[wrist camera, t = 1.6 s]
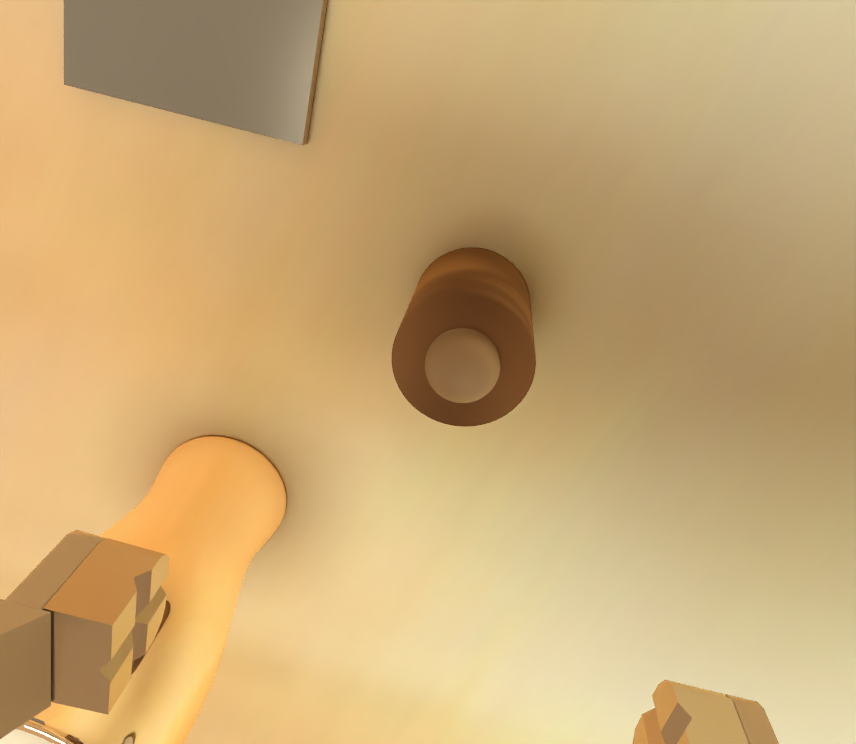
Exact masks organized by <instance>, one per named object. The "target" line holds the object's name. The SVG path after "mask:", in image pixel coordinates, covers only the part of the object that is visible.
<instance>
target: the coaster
mask: <svg viewBox="0 0 856 744" xmlns="http://www.w3.org/2000/svg"><path fill="white" fill-rule="evenodd" d="M327 2H328V0H64V85H68V86H72V87H76V88H80V89H84V90H88V91H92V92H96V93H100V94H103V95H107V96H111V97H115V98H119V99H123V100H127V101H131V102H135V103H139V104H143V105H147V106H151V107H155V108H159V109H163V110H166V111H170V112H174V113H178V114H182V115H186V116H190V117H194V118H198V119H202V120H206V121H210V122H214V123H218V124H222V125H225V126H229V127H233V128H237V129H241V130H245V131H249V132H253V133H257V134H261V135H265V136H269V137H273V138H277V139H281V140H284V141H288V142H292V143H296V144H300V145H304V144H307V140H308V133H309V126H310V119H311V112H312V105H313V98H314V92H315V85H316V78H317V71H318V64H319V57H320V50H321V43H322V36H323V29H324V22H325V16H326V9H327Z"/></svg>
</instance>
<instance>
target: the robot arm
mask: <svg viewBox="0 0 856 744" xmlns="http://www.w3.org/2000/svg"><path fill="white" fill-rule="evenodd" d="M168 574H169V557H168V556H167V555H166V554H163V553H160V552H156V551H153V550H149V549H146V548H142V547H138V546H135V545H131V544H128V543H124V542H120V541H117V540H113V539H110V538H103V537H100V536H96V535H93V534H89V533H86V532H82V531H79V530H76V531H73V532H71V533H69V534H68V535H66V536H65V537H64V538H63V539H62V540H61V541H60V543H59V544H58V545H57V546H56V547H55V548H54V549H53V550H52V551H51V552H50V553H49V554H48V555H47V556H46V557H45V558H44V559H43V560H42V562H41V563H40V564H39V565H38V566H37V567H36V568H35V569H34V570H33V571H32V572H31V573H30V574H29V575H28V576H27V577H26V578H25V580H24V581H23V582H22V583H21V584H20V585H19V586H18V587H17V588H16V589H15V590H14V591H13V592H12V593H11V594H10V595H9V596H8V597H7V599H6V600H1V599H0V739H1V738H3V737H4V736H6V735H7V734H9V733H10V732H12V731H13V730H15V729H16V728H18V727H20V726H21V725H23V724H24V723H26V722H27V721H29V720H30V719H32V718H33V717H35V716H36V715H38V714H39V713H41V712H42V711H44V710H45V709H47V708H48V707H50V706H51V702H53V703H57V704H62V705H66V706H71V707H75V708H80V709H85V710H89V711H94V712H98V713H103V714H107V715H108V714H109V713H110V711H111V709H112V708H113V706H114V704H115V703H116V701H117V700H118V698H119V696H120V695H121V693H122V691H123V690H124V688H125V687H126V685H127V683H128V682H129V680H130V679H131V671H132V661H134V660H136V659H137V658H139V657H141V656H143V655H145V654H146V652H147V650H148V649H149V647H150V645H151V644H152V642H153V640H154V638H155V636H156V634H157V631H158V629H159V626H160V624H161V621H162V618H163V614H164V610H165V605H166V596H167V594H166V593H165V591H164V590H163V588H162V587H161V584H162V583H163V581H164V580H165V578H166V577H167V575H168ZM652 696H653V700H654V704H655V708H654V709H652V710H650V711H648V712H646V713H644V714H642V716H641V718H640V720H639V722H638V724H637V726H636V728H635V733H634V739H633V744H779V743H778V741H777V738H776V736H775V734H774V731H773V729H772V727H771V724H770V722H769V719H768V717H767V715H766V712H765V710H764V708H763V707H762V706H761V705H760V704H759V703H758V702H756V701H752V700H748V699H743V698H739V697H735V696H731V695H724V694H722V693H718V692H714V691H710V690H705V689H701V688H697V687H693V686H689V685H685V684H681V683H676V682H672V681H668V680H664V681H663V682H661V683H660V684H659V685H658V686H657V688H656V690H655V692H654V693H653V695H652Z"/></svg>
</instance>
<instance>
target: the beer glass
mask: <svg viewBox="0 0 856 744" xmlns="http://www.w3.org/2000/svg"><path fill="white" fill-rule="evenodd" d="M285 510H286V491H285V487H284V484H283V481H282V479H281V477H280V475H279V473H278V472H277V470H276V469H275V467H274V466H273V465H272V464H271V463H270V462H269V460H268V459H267V458H265V457H264V456H263V455H262V454H261V453H259V452H258V451H257V450H255V449H254V448H252V447H250V446H248V445H247V444H244V443H242V442H240V441H237V440H234V439H230V438H226V437H219V436H206V437H200V438H195V439H192V440H190V441H187V442H185V443H184V444H182V445H180V446H179V447H177V448H176V449H175V450H174V451H173V452H172V453H171V454H170V455H169V456H168V458H167V459H166V461H165V462H164V464H163V466H162V468H161V469H160V471H159V473H158V475H157V477H156V480H155V482H154V484H153V486H152V487H151V489H150V491H149V492H148V494H147V495H146V497H145V498H144V499H143V500H142V501H141V502H140V503H139V504H138V505H137V506H136V508H135V509H134V510H132V511H131V512H130V513H129V514H127V515H126V516H125V517H124V518H122V519H121V520H120V521H118V522H117V523H116V524H114V525H113V526H112V527H110V528H109V529H108V530H106V531H105V532H104V533H102V534H101V535H99V536H100V537H103V538H110V539H113V540H117V541H120V542H124V543H128V544H131V545H135V546H138V547H142V548H146V549H149V550H153V551H156V552H160V553H163V554H166V555H167V556H168V557H169V574H168V575H167V577H166V578H165V580H164V581H163V583H162V584H161V587H162V588H163V590H164V591H165V593H166V594H167V596H166V605H165V610H164V614H163V618H162V621H161V624H160V626H159V629H158V631H157V634H156V636H155V638H154V640H153V642H152V644H151V645H150V647H149V649H148V650H147V652H146V654H145V655H143V656H141V657H139V658H137V659H136V660H134V661H132V671H131V679H130V680H129V682H128V683H127V685H126V687H125V688H124V690H123V691H122V693H121V695H120V696H119V698H118V700H117V701H116V703H115V704H114V706H113V708H112V709H111V711H110V713H109V714H108V715H107V714H103V713H98V712H94V711H89V710H85V709H80V708H75V707H71V706H66V705H62V704H57V703H53V702H51V706H50V707H48V708H47V709H45V710H44V711H42V712H41V713H39V714H38V715H36V716H35V717H33V718H32V719H30V720H29V721H27V722H26V723H24V724H23V725H21V726H20V727H18V728H16V729H15V730H13V731H12V732H10V733H9V734H7V735H6V736H4V737H3V738H1V739H0V744H184V742H185V740H186V738H187V736H188V734H189V732H190V730H191V729H192V727H193V725H194V723H195V721H196V719H197V717H198V715H199V712H200V710H201V708H202V705H203V703H204V701H205V699H206V696H207V694H208V692H209V690H210V687H211V685H212V683H213V680H214V677H215V674H216V671H217V668H218V665H219V662H220V659H221V656H222V653H223V650H224V647H225V644H226V640H227V636H228V633H229V629H230V625H231V622H232V618H233V614H234V610H235V607H236V603H237V599H238V595H239V591H240V588H241V585H242V581H243V578H244V575H245V573H246V570H247V568H248V566H249V564H250V562H251V560H252V559H253V557H254V556H255V554H256V553H257V552H258V551H259V549H260V548H261V547H262V546H263V545H264V544H265V543H266V542H267V541H268V539H269V538H270V537H271V536H272V535H273V534H274V532H275V531H276V530H277V528H278V527H279V525H280V523H281V522H282V520H283V517H284V514H285Z"/></svg>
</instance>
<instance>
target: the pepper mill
mask: <svg viewBox="0 0 856 744" xmlns="http://www.w3.org/2000/svg"><path fill="white" fill-rule="evenodd" d="M535 365H536V359H535V346H534V336H533V327H532V317H531V307H530V297H529V291H528V288H527V285H526V282H525V280H524V278H523V276H522V275H521V273H520V272H519V270H518V269H517V268H516V267H515V266H514V264H512V263H511V262H510V261H509V260H508V259H506V258H505V257H503V256H502V255H500V254H498V253H496V252H493V251H490V250H487V249H482V248H462V249H457V250H454V251H451V252H448V253H446V254H444V255H442V256H441V257H439V258H438V259H436V260H435V261H434V262H433V263H432V264H431V265H430V266H429V267H428V268H427V269H426V270H425V272H424V273H423V275H422V276H421V279H420V281H419V283H418V285H417V288H416V290H415V292H414V295H413V297H412V299H411V302H410V304H409V306H408V309H407V311H406V313H405V316H404V318H403V321H402V323H401V325H400V328H399V330H398V332H397V335H396V337H395V340H394V344H393V349H392V368H393V373H394V377H395V380H396V382H397V384H398V387H399V389H400V390H401V392H402V394H403V395H404V396H405V398H406V399H407V400H408V401H409V402H410V403H411V404H412V405H413V406H414V407H415V408H416V409H417V410H418V411H420V412H421V413H423V414H424V415H426V416H428V417H429V418H431V419H434V420H436V421H438V422H441V423H445V424H449V425H454V426H476V425H482V424H486V423H489V422H492V421H495V420H497V419H499V418H501V417H503V416H504V415H506V414H508V413H509V412H510V411H512V410H513V409H514V408H515V407H516V406H517V405H518V404H519V403H520V402H521V401H522V399H523V398H524V397H525V395H526V394H527V392H528V390H529V388H530V386H531V383H532V381H533V377H534V373H535Z"/></svg>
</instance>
